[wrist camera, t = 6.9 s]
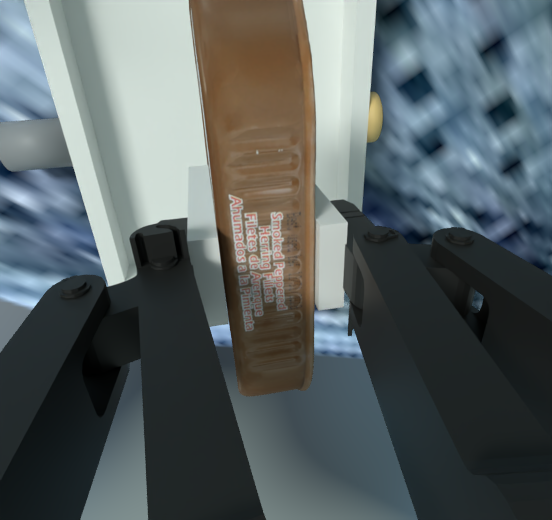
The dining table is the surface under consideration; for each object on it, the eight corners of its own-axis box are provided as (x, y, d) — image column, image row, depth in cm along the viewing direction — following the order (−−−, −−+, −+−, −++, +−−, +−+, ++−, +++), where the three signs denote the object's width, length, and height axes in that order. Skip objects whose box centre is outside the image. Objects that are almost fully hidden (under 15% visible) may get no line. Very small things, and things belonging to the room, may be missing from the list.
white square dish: (375, -77, 25) (401, -92, 22) (354, 243, 36) (370, 263, 33) (-56, -72, 22) (-98, -90, 18) (68, 279, 33) (55, 305, 30)
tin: (273, 308, 22) (329, 436, 15) (216, 318, 22) (246, 458, 14) (255, -25, 15) (349, -84, 8) (167, -23, 14) (180, -87, 7)
